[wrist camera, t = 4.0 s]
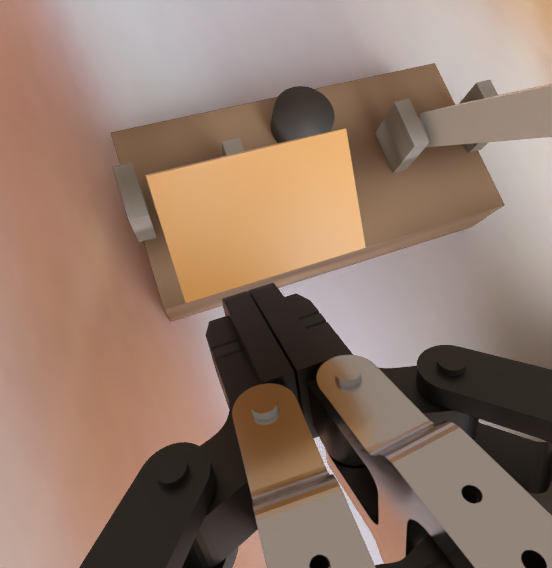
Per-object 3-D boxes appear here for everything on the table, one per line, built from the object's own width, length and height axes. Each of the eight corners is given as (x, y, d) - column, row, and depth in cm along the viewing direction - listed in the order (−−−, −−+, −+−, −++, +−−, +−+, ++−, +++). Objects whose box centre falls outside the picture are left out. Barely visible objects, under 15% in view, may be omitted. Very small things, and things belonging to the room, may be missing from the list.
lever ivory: (463, 139, 23) (853, 100, 10) (410, 153, 22) (759, 129, 10) (460, 99, 22) (870, 5, 10) (405, 112, 21) (770, 29, 9)
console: (474, 225, 25) (542, 180, 20) (166, 322, 22) (151, 298, 16) (414, 98, 27) (462, 26, 22) (119, 166, 23) (92, 98, 18)
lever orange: (226, 200, 20) (365, 247, 8) (158, 218, 19) (185, 303, 7) (215, 156, 19) (346, 127, 7) (143, 173, 19) (145, 176, 6)
